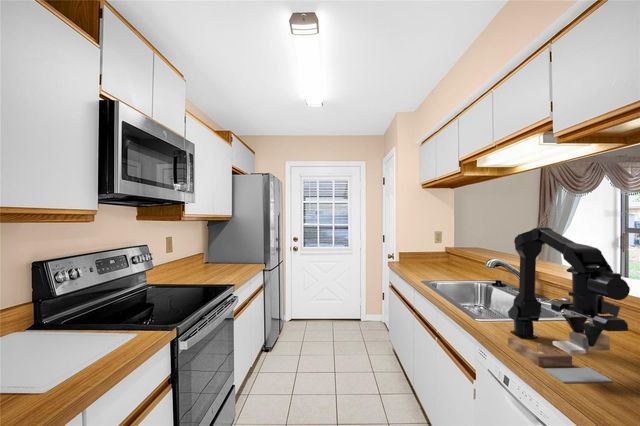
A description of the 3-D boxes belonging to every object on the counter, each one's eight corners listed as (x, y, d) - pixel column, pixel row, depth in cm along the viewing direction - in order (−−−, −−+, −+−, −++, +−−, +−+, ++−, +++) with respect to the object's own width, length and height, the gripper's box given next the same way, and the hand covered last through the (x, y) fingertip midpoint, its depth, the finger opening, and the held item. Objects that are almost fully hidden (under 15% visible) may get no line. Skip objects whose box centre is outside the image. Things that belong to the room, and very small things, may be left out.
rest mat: (543, 369, 89) (543, 368, 89) (589, 369, 89) (589, 367, 89) (563, 382, 82) (563, 381, 82) (612, 381, 82) (612, 380, 82)
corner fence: (508, 345, 106) (507, 337, 106) (537, 345, 106) (536, 337, 106) (538, 366, 91) (538, 356, 91) (572, 365, 91) (572, 356, 91)
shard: (538, 346, 106) (538, 341, 106) (566, 352, 101) (566, 347, 101) (534, 356, 98) (534, 351, 98) (564, 364, 93) (564, 358, 93)
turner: (595, 343, 89) (594, 330, 89) (615, 352, 83) (614, 338, 83) (552, 344, 89) (552, 331, 89) (570, 353, 83) (569, 339, 83)
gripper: (648, 299, 77) (649, 359, 77) (583, 282, 95) (584, 330, 95) (606, 299, 77) (607, 359, 77) (549, 283, 95) (550, 331, 95)
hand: (586, 343), depth 86 cm, fingers closed on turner, 3 cm apart
